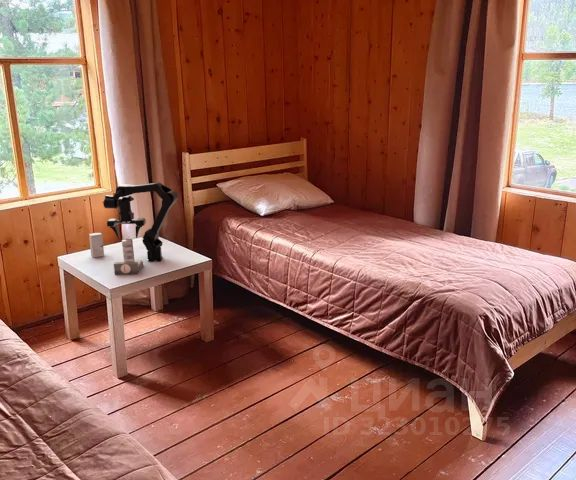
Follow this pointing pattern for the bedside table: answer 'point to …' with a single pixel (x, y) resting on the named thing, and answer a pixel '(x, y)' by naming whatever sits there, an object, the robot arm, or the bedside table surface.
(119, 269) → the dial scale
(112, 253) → the bedside table surface
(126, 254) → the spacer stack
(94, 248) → the skincare box
